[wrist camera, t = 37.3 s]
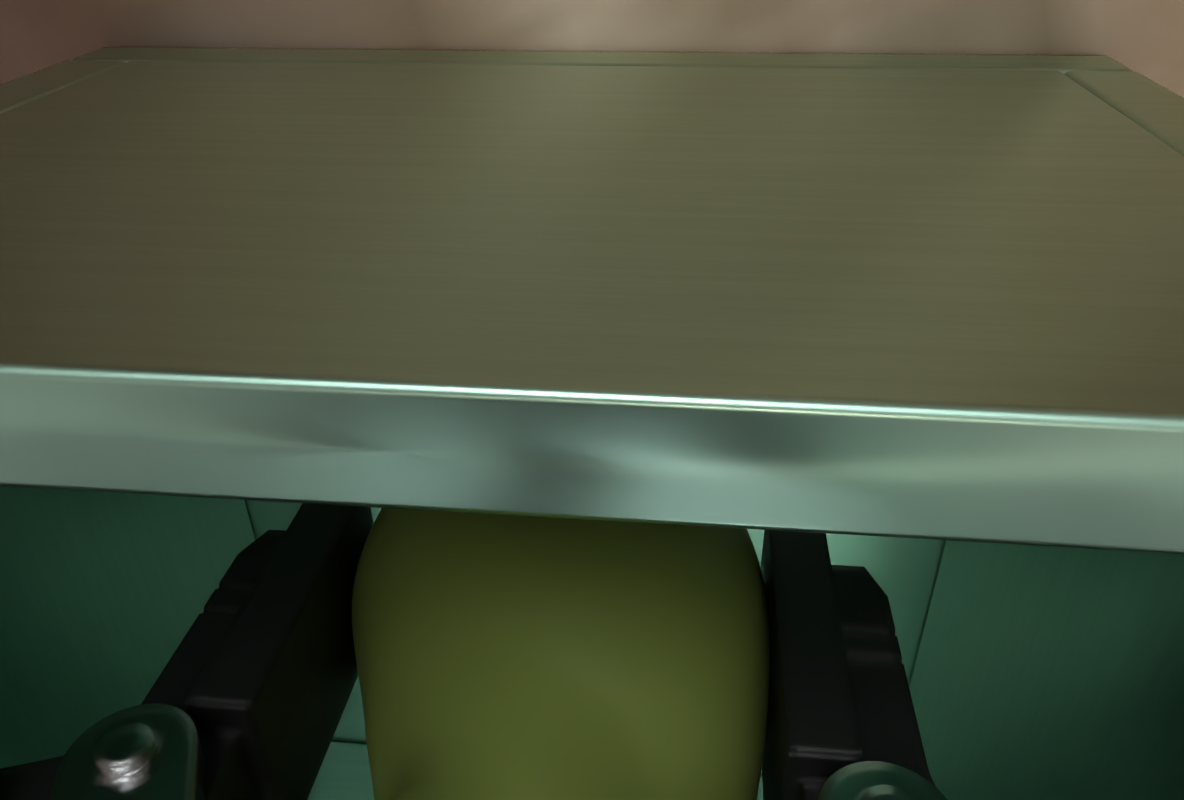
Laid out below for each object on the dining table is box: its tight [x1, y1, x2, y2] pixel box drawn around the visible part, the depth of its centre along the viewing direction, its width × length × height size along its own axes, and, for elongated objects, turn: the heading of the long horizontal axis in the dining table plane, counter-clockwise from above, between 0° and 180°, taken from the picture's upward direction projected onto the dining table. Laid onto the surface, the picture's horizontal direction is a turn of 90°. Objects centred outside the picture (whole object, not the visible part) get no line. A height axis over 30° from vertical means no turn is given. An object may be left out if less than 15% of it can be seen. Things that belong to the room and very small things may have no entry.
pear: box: [352, 508, 770, 800], centre depth 10 cm, size 6×5×10 cm
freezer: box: [0, 47, 1184, 800], centre depth 13 cm, size 15×14×9 cm
